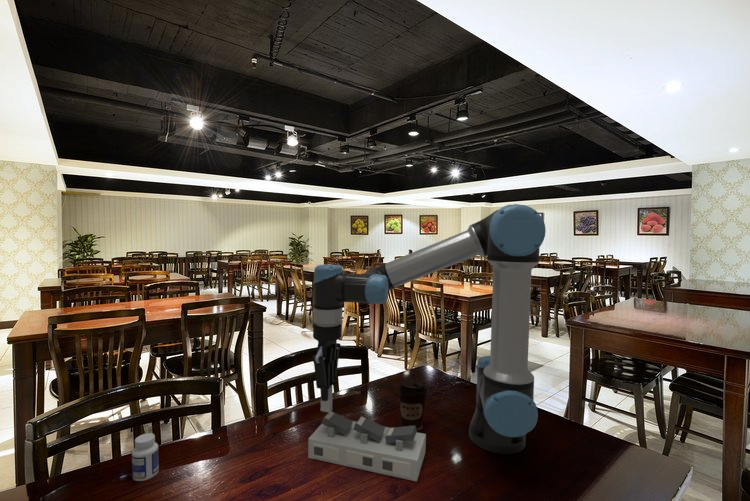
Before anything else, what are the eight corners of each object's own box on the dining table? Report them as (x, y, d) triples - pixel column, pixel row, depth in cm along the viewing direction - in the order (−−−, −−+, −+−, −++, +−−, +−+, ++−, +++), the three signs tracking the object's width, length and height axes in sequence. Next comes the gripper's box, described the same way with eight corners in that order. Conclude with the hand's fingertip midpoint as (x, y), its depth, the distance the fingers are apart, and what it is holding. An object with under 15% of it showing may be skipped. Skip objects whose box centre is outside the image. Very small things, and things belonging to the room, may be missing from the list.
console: (425, 452, 97) (426, 425, 97) (416, 482, 85) (417, 452, 85) (327, 433, 106) (328, 408, 105) (307, 458, 94) (307, 431, 93)
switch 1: (350, 429, 100) (353, 420, 99) (343, 439, 95) (346, 429, 95) (327, 418, 102) (330, 409, 101) (319, 427, 97) (322, 418, 96)
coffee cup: (425, 435, 105) (426, 391, 105) (396, 432, 107) (397, 388, 106) (427, 420, 114) (428, 379, 113) (400, 417, 116) (401, 376, 115)
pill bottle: (153, 464, 91) (153, 429, 90) (162, 473, 87) (162, 436, 87) (128, 475, 86) (128, 438, 86) (137, 485, 83) (136, 446, 83)
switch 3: (417, 434, 94) (415, 424, 94) (414, 445, 89) (411, 434, 89) (392, 436, 96) (389, 426, 96) (387, 447, 91) (384, 436, 92)
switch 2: (382, 435, 97) (385, 426, 97) (377, 445, 92) (380, 436, 92) (358, 423, 99) (361, 414, 99) (352, 433, 94) (354, 424, 94)
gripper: (325, 316, 105) (324, 398, 106) (302, 327, 93) (302, 419, 94) (349, 319, 103) (348, 402, 104) (330, 330, 90) (329, 424, 91)
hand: (326, 410), depth 99 cm, fingers closed
